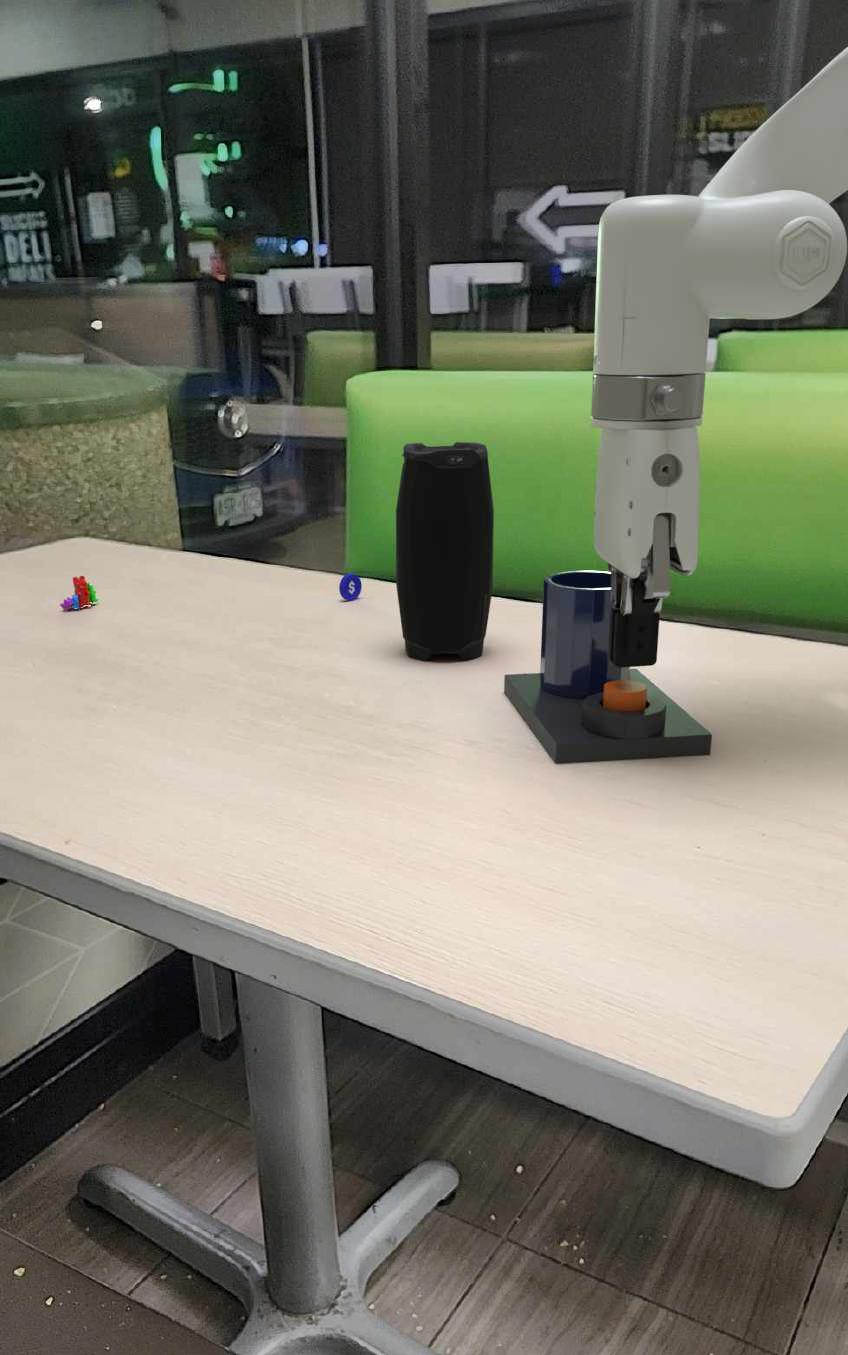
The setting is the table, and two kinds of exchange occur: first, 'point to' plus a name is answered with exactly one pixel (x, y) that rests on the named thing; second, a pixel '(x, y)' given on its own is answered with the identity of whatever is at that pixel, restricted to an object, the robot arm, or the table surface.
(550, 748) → the push button base
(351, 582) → the coin
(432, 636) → the portable speaker
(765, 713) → the table surface
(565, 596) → the blue cup
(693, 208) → the robot arm
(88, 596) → the colorful small pieces
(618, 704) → the switch
